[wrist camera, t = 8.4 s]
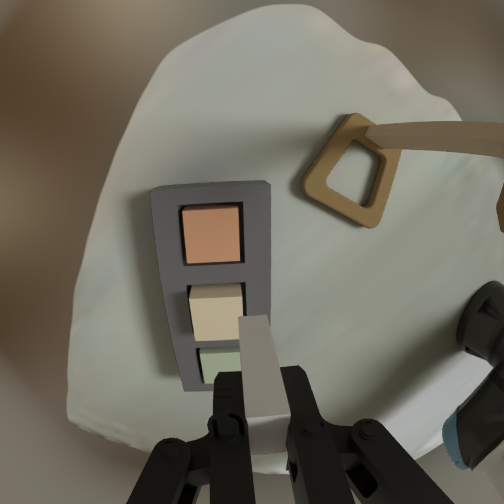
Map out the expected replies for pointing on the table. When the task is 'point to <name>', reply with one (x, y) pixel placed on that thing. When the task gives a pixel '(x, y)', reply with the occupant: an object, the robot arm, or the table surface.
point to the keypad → (187, 274)
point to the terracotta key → (211, 232)
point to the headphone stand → (396, 157)
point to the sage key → (219, 361)
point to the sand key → (216, 311)
